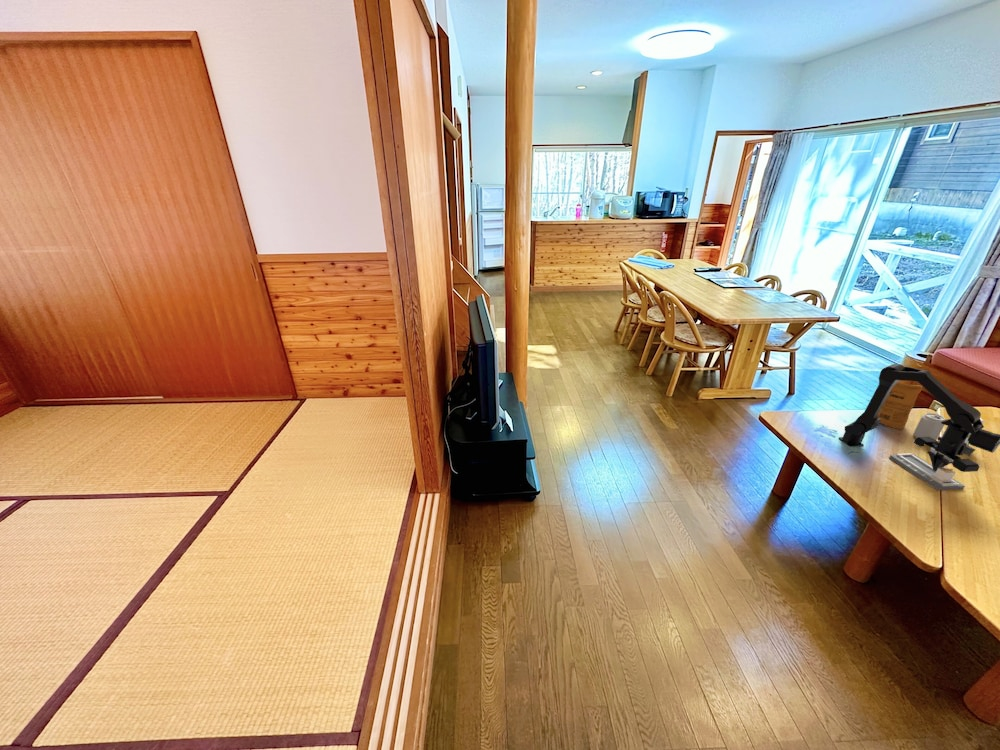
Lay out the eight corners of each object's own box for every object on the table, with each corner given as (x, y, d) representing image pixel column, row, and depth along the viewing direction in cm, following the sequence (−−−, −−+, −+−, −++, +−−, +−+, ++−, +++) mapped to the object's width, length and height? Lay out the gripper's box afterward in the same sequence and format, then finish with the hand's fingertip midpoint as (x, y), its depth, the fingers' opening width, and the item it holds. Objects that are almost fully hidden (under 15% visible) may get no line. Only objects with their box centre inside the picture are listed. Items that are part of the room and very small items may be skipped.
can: (939, 444, 176) (952, 421, 171) (919, 442, 178) (931, 419, 172) (927, 434, 183) (938, 412, 178) (908, 433, 184) (919, 411, 179)
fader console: (937, 490, 151) (940, 485, 150) (889, 457, 169) (891, 453, 168) (963, 489, 151) (966, 484, 150) (912, 456, 169) (914, 452, 168)
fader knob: (940, 482, 152) (946, 472, 150) (932, 477, 155) (938, 467, 153) (950, 481, 152) (956, 471, 150) (942, 476, 155) (948, 466, 153)
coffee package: (872, 413, 200) (889, 374, 190) (905, 423, 191) (925, 383, 182) (868, 421, 194) (885, 381, 185) (902, 431, 186) (922, 390, 176)
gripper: (1003, 452, 141) (981, 485, 148) (948, 423, 158) (930, 455, 164) (973, 453, 141) (953, 487, 147) (921, 425, 157) (904, 456, 164)
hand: (935, 470), depth 156 cm, fingers closed
